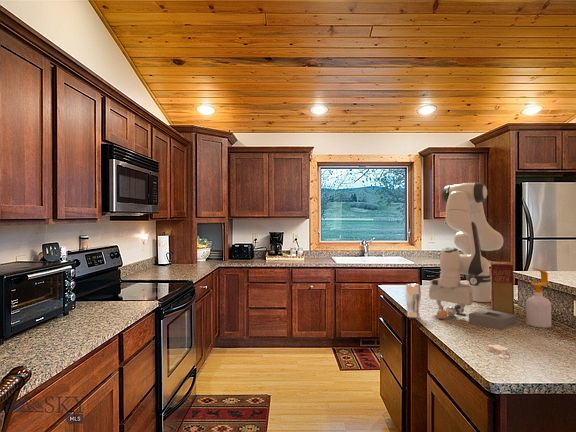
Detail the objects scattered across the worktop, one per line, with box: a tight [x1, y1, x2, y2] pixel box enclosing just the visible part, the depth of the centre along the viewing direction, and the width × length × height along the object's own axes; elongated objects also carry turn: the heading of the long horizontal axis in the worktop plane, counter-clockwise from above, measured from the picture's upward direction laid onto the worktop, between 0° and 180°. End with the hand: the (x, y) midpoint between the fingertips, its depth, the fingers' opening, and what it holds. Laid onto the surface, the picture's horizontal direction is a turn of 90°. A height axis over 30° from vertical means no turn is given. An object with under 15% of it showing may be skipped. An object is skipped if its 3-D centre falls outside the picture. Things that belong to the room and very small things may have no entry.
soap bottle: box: [525, 267, 552, 329], centre depth 165 cm, size 9×9×25 cm
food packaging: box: [490, 260, 515, 314], centre depth 182 cm, size 13×9×25 cm
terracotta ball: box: [436, 308, 448, 320], centre depth 176 cm, size 4×4×4 cm
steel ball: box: [445, 306, 456, 317], centre depth 181 cm, size 4×4×4 cm
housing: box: [468, 308, 517, 331], centre depth 168 cm, size 14×14×4 cm
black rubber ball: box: [453, 303, 465, 314], centre depth 186 cm, size 4×4×4 cm
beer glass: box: [405, 283, 422, 319], centre depth 181 cm, size 7×7×15 cm
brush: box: [487, 344, 510, 360], centre depth 132 cm, size 9×9×2 cm
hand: (450, 311), depth 181 cm, fingers open, 8 cm apart
